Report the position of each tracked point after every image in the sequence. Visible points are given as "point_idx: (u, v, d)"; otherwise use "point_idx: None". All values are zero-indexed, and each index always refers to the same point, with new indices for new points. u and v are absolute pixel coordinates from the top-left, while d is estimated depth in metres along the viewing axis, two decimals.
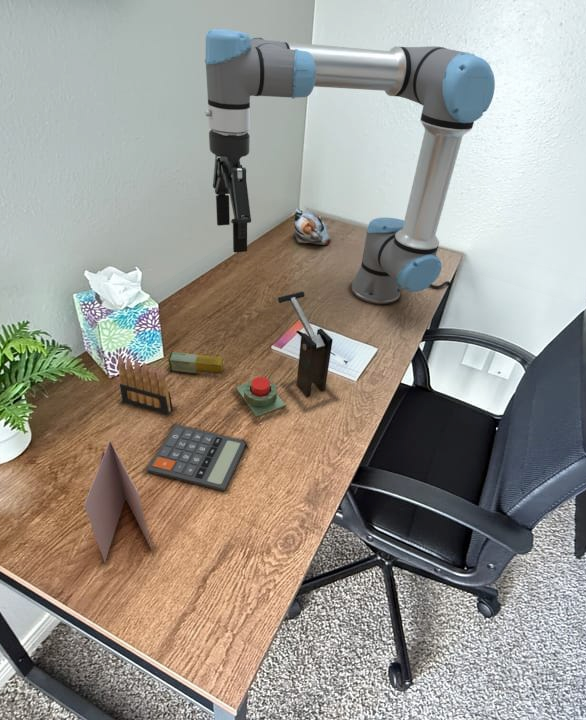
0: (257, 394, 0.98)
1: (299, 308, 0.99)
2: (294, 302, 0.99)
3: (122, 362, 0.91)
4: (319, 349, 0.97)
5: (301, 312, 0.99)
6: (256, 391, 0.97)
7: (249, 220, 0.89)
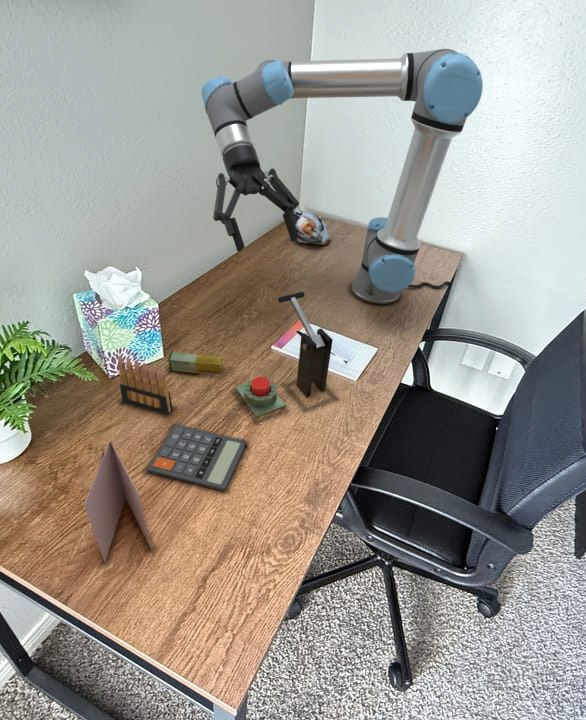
0: (257, 394, 0.98)
1: (299, 308, 0.99)
2: (294, 302, 0.99)
3: (122, 362, 0.91)
4: (319, 349, 0.97)
5: (301, 312, 0.99)
6: (256, 391, 0.97)
7: (216, 214, 0.96)
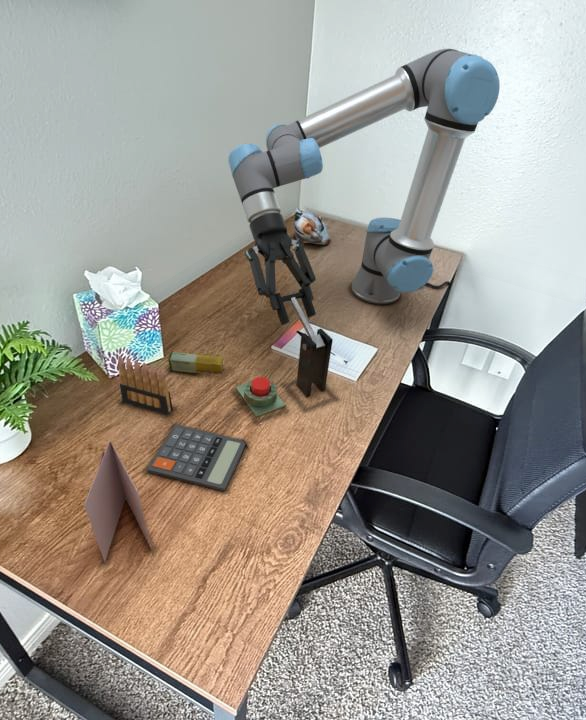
0: (257, 394, 0.98)
1: (299, 308, 0.99)
2: (294, 302, 0.99)
3: (122, 362, 0.91)
4: (319, 349, 0.97)
5: (301, 312, 0.99)
6: (256, 391, 0.97)
7: (262, 291, 0.96)
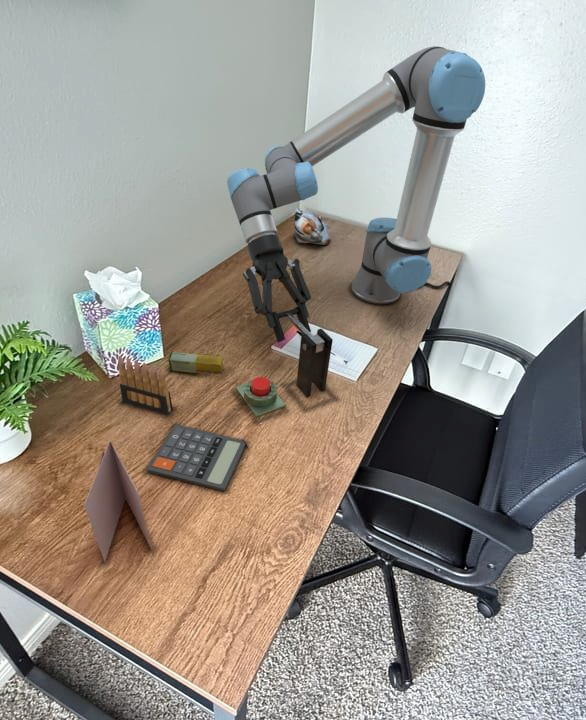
0: (257, 394, 0.98)
1: (295, 319, 1.02)
2: (290, 315, 1.03)
3: (122, 362, 0.91)
4: (320, 347, 0.96)
5: (297, 321, 1.01)
6: (256, 391, 0.97)
7: (259, 310, 1.00)
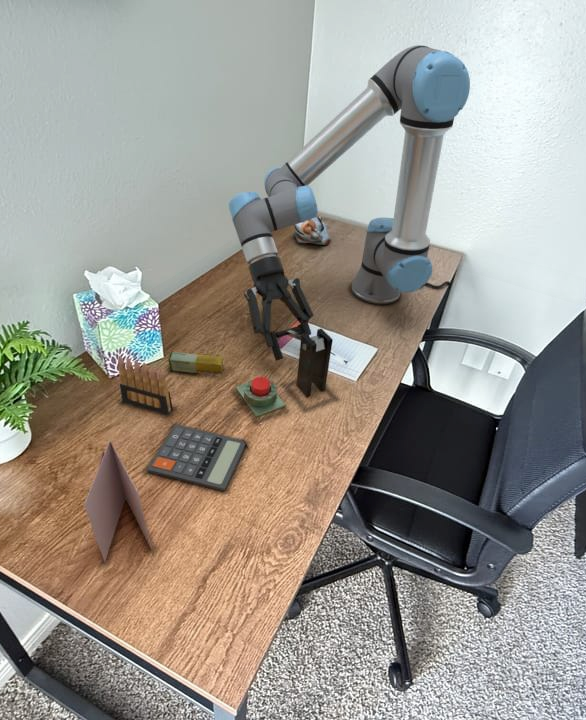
0: (257, 394, 0.98)
1: (295, 332, 1.04)
2: (290, 331, 1.05)
3: (122, 362, 0.91)
4: (320, 345, 0.96)
5: (297, 333, 1.03)
6: (256, 391, 0.97)
7: (257, 330, 1.02)
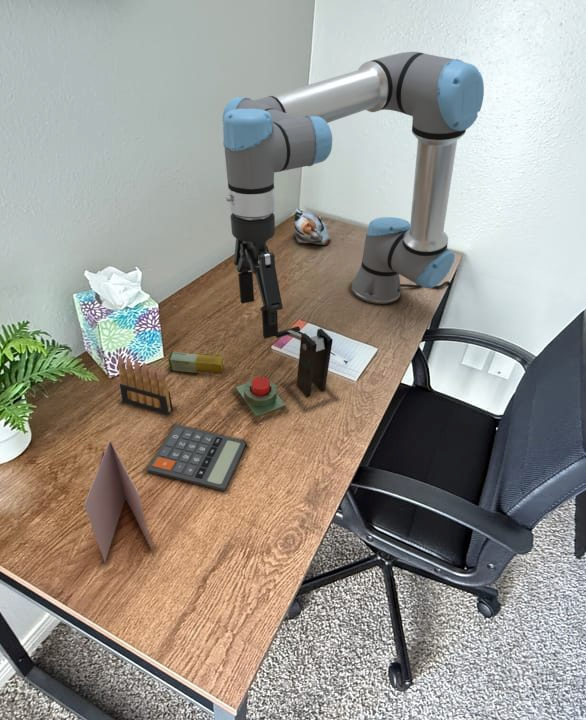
0: (257, 394, 0.98)
1: (295, 332, 1.04)
2: (290, 331, 1.05)
3: (122, 362, 0.91)
4: (320, 345, 0.96)
5: (297, 333, 1.03)
6: (256, 391, 0.97)
7: (280, 307, 0.80)
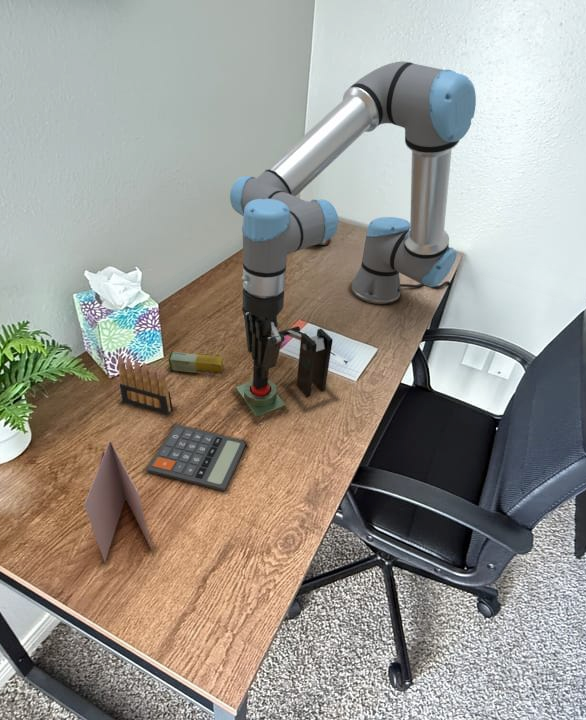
0: None
1: (295, 332, 1.04)
2: (290, 331, 1.05)
3: (122, 362, 0.91)
4: (320, 345, 0.96)
5: (297, 333, 1.03)
6: (256, 394, 0.98)
7: (273, 366, 0.92)
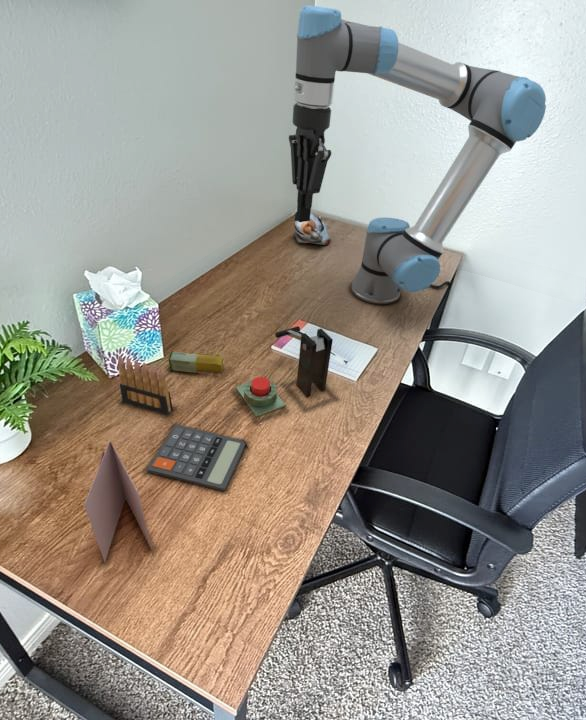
0: (257, 394, 0.98)
1: (295, 332, 1.04)
2: (290, 331, 1.05)
3: (122, 362, 0.91)
4: (320, 345, 0.96)
5: (297, 333, 1.03)
6: (256, 391, 0.97)
7: (318, 192, 0.99)
